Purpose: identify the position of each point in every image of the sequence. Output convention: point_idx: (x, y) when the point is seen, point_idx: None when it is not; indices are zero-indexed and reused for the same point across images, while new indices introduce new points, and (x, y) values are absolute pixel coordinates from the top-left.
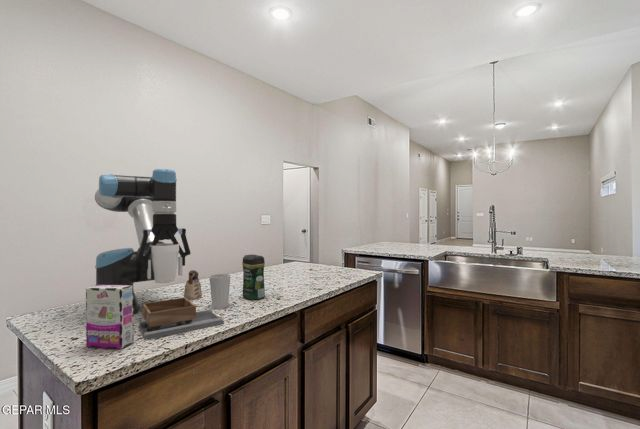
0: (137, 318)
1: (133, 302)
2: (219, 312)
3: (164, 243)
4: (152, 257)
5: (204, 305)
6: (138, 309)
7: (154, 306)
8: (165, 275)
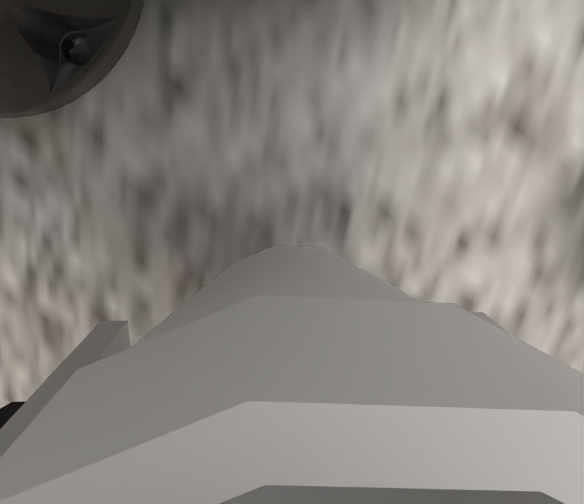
0: (127, 189)
1: (81, 21)
2: (575, 361)
3: (473, 428)
4: None
5: (566, 141)
6: (138, 7)
7: None
8: (279, 490)
